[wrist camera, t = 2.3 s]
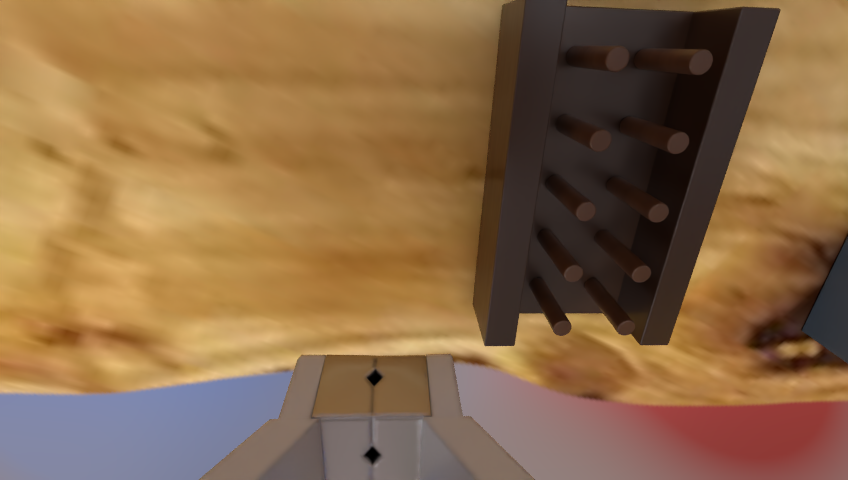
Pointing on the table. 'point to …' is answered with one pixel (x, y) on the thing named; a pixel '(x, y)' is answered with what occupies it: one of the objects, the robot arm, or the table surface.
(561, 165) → the rack
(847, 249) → the stop rail
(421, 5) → the table surface
